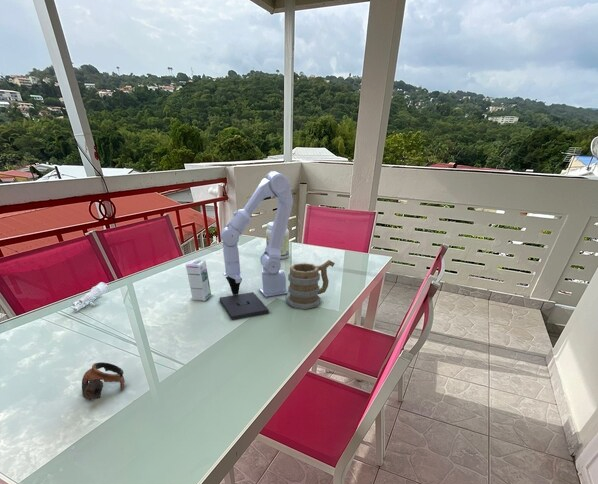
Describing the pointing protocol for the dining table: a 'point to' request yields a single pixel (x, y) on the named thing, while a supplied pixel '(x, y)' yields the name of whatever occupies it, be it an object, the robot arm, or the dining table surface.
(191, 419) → the dining table surface
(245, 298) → the black pad
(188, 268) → the syrup box
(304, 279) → the tankard
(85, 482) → the dining table surface
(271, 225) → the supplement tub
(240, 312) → the charcoal pad
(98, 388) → the brown looped strap
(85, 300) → the toy cannon
